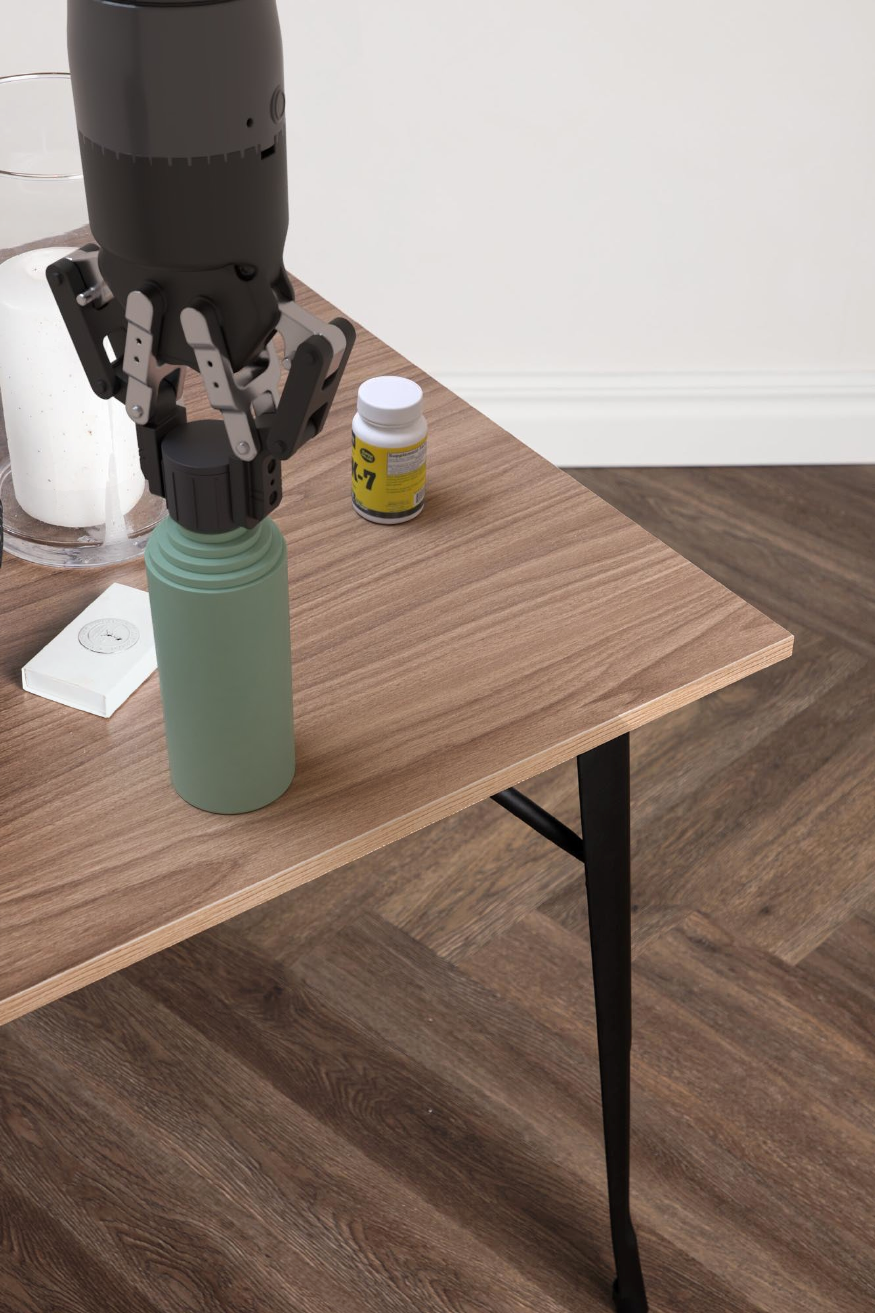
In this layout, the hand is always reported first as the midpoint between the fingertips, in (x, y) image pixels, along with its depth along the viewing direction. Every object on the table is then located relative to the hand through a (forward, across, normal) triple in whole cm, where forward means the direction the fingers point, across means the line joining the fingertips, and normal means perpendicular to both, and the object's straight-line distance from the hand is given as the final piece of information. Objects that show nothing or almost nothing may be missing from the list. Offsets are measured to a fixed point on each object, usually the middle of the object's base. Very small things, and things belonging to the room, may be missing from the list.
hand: (212, 501), depth 62 cm
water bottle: (+17, 0, 0) cm, 17 cm away
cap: (0, 0, 0) cm, 0 cm away
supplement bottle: (+17, -5, +25) cm, 30 cm away
